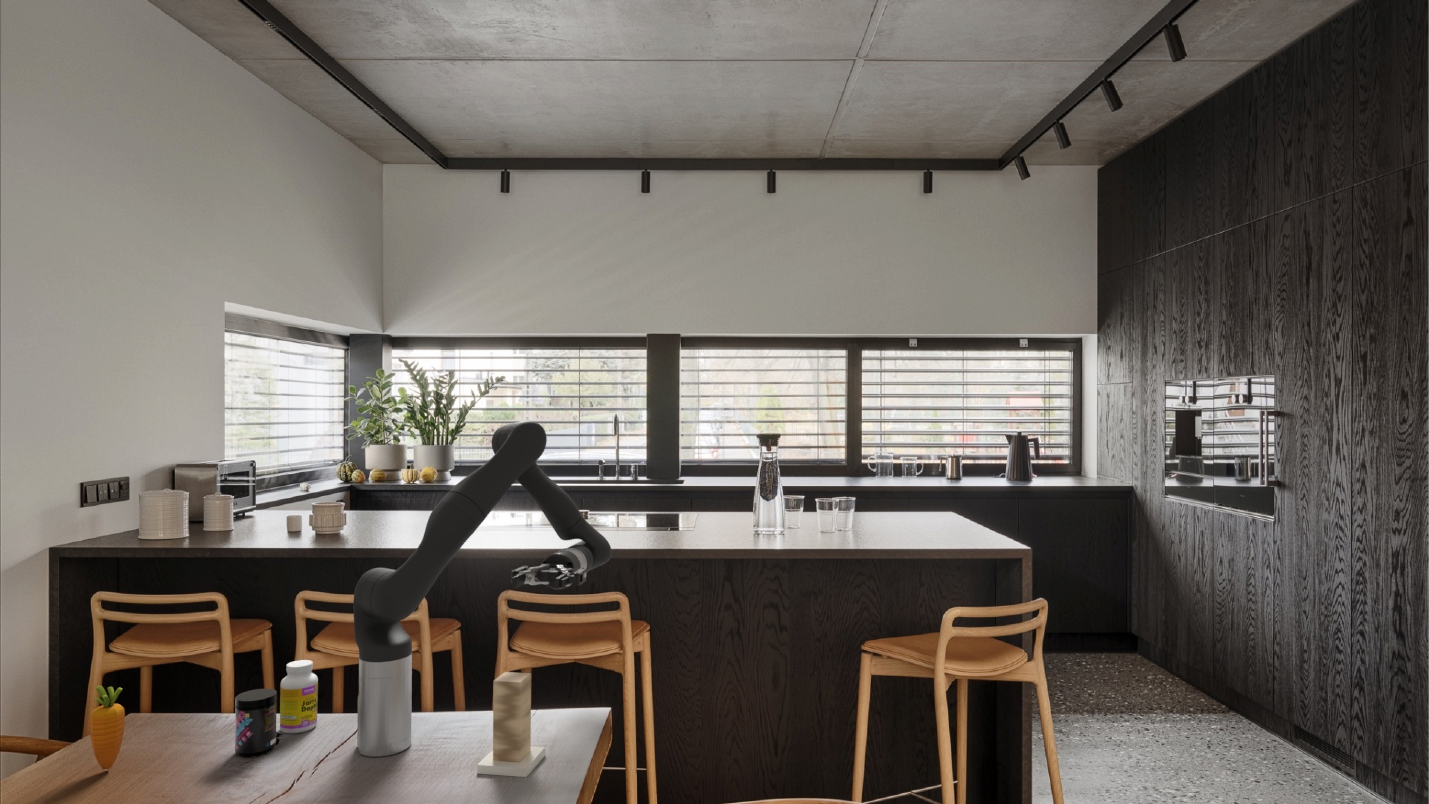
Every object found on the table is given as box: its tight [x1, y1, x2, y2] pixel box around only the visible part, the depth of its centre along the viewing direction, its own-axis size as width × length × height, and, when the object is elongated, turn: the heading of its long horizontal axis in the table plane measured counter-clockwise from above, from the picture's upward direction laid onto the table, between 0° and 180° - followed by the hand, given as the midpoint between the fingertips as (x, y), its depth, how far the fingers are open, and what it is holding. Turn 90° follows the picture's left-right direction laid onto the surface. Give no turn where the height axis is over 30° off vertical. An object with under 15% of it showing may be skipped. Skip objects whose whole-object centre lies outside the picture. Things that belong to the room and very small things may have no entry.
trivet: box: [476, 745, 546, 778], centre depth 144 cm, size 9×9×2 cm
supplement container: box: [234, 688, 278, 759], centre depth 150 cm, size 7×7×10 cm
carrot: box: [89, 685, 126, 770], centre depth 141 cm, size 5×5×15 cm
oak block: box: [492, 671, 532, 762], centre depth 145 cm, size 5×5×14 cm
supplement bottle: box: [279, 659, 319, 734], centre depth 161 cm, size 7×7×13 cm
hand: (536, 583), depth 156 cm, fingers open, 8 cm apart
